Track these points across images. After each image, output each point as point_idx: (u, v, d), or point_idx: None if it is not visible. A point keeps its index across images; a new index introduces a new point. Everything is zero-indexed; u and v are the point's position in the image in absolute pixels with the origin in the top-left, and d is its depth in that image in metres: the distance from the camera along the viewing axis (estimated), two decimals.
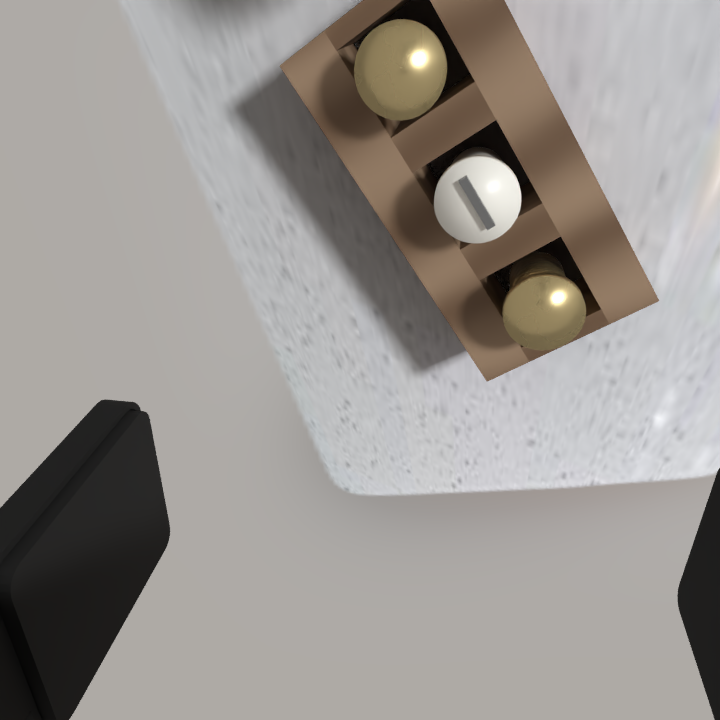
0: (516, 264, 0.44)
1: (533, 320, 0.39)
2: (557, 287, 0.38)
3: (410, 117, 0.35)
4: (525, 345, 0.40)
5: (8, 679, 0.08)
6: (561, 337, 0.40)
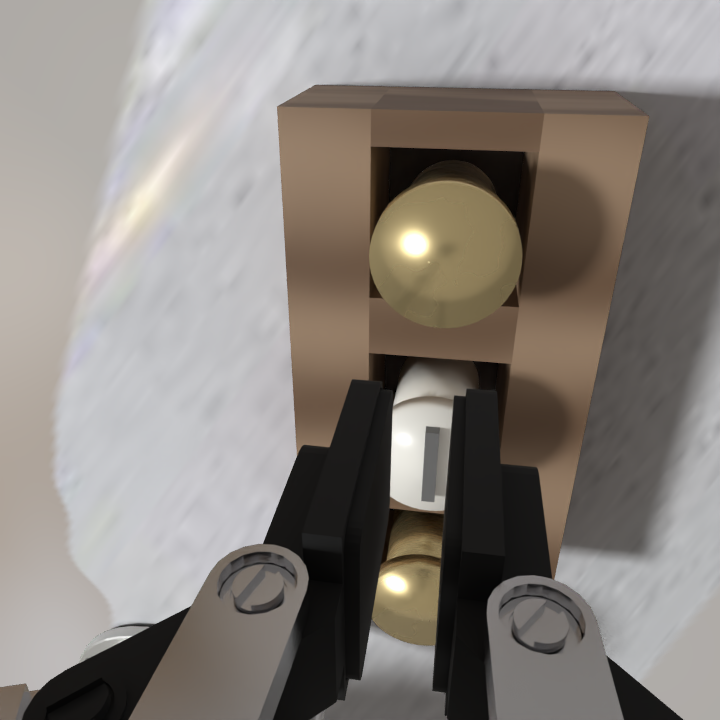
0: None
1: (466, 260, 0.21)
2: (397, 291, 0.21)
3: None
4: (509, 223, 0.20)
5: (341, 633, 0.09)
6: (442, 201, 0.20)
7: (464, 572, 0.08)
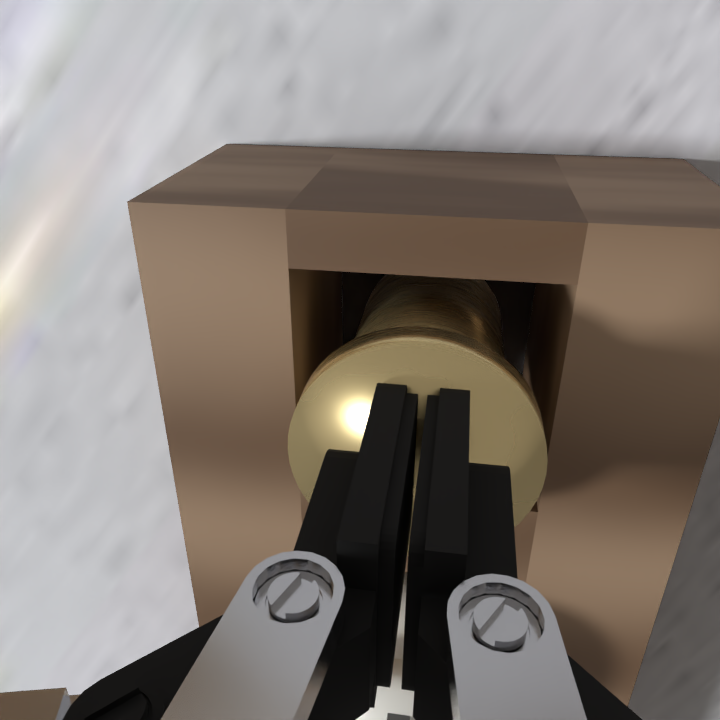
0: None
1: None
2: None
3: None
4: (526, 411, 0.11)
5: (374, 641, 0.09)
6: (408, 373, 0.11)
7: (427, 571, 0.08)
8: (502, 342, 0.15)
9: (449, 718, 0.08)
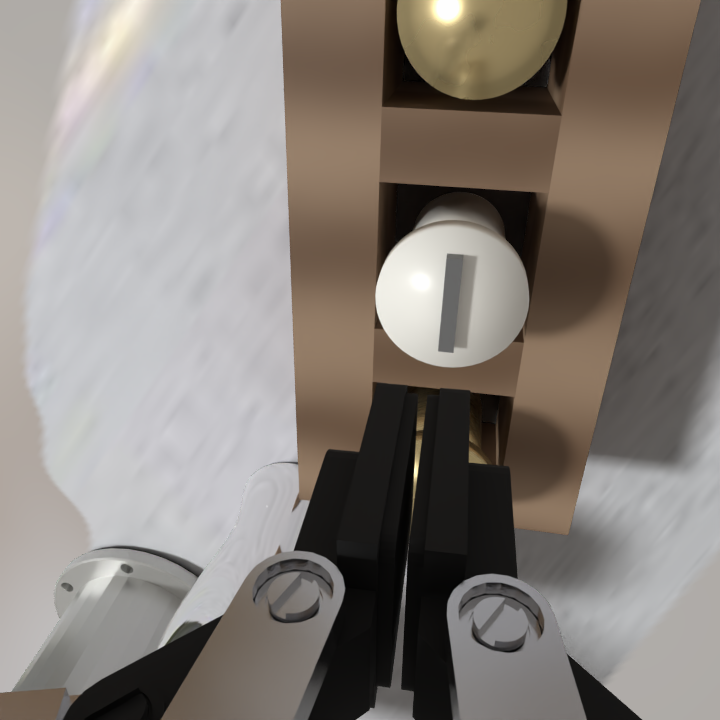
0: None
1: (504, 10, 0.19)
2: (426, 54, 0.20)
3: None
4: None
5: (374, 641, 0.09)
6: None
7: (427, 571, 0.08)
8: None
9: (449, 718, 0.08)
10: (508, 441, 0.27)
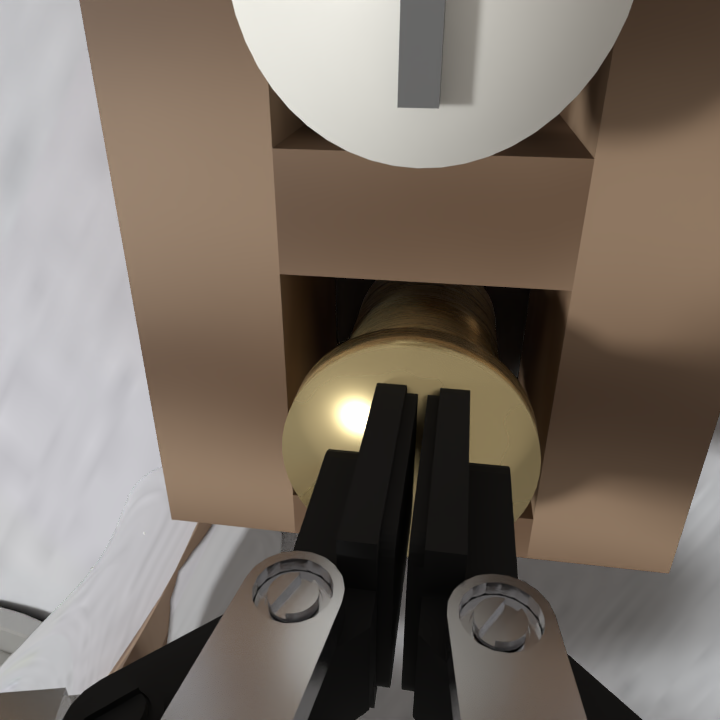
0: None
1: None
2: None
3: (456, 361, 0.11)
4: None
5: (374, 641, 0.09)
6: None
7: (427, 571, 0.08)
8: None
9: (449, 718, 0.08)
10: (557, 390, 0.13)
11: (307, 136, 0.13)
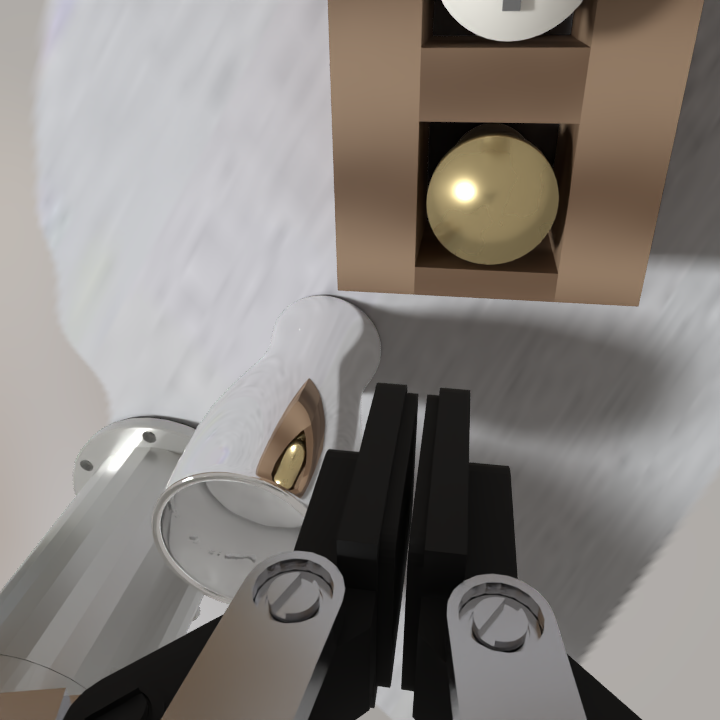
0: None
1: None
2: None
3: (517, 142, 0.23)
4: None
5: (374, 641, 0.09)
6: None
7: (427, 571, 0.08)
8: None
9: (449, 718, 0.08)
10: (571, 186, 0.24)
11: (434, 44, 0.23)
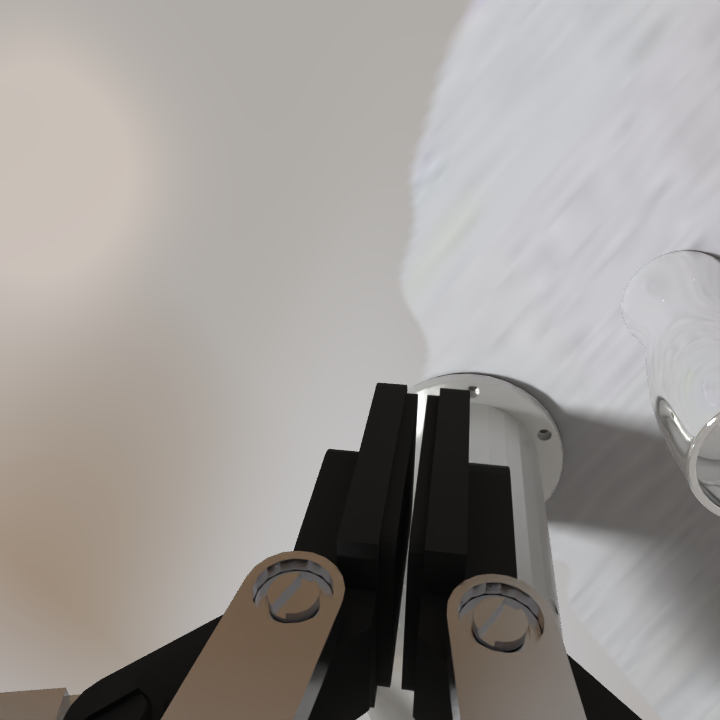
0: None
1: None
2: None
3: None
4: None
5: (374, 641, 0.09)
6: None
7: (427, 571, 0.08)
8: None
9: (449, 718, 0.08)
10: None
11: None
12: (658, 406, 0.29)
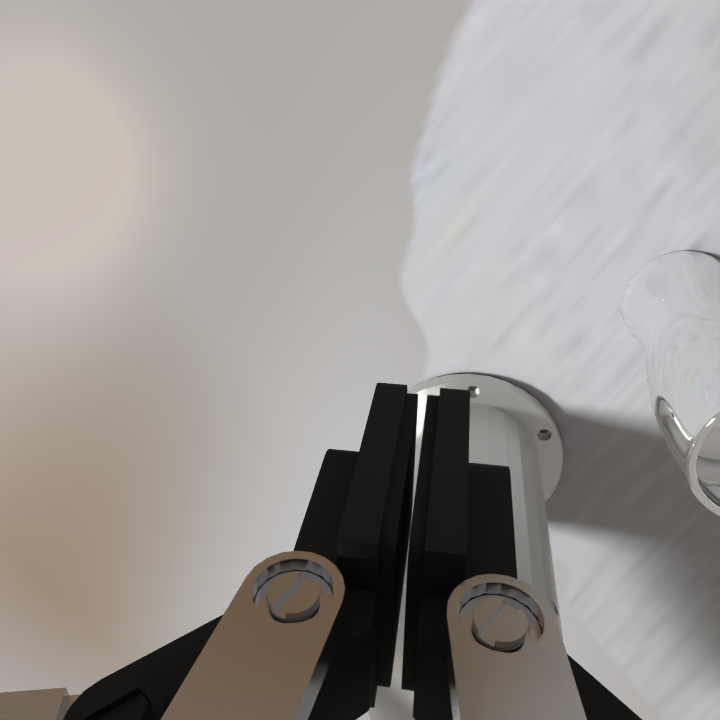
0: None
1: None
2: None
3: None
4: None
5: (374, 641, 0.09)
6: None
7: (427, 571, 0.08)
8: None
9: (449, 718, 0.08)
10: None
11: None
12: (658, 406, 0.29)
